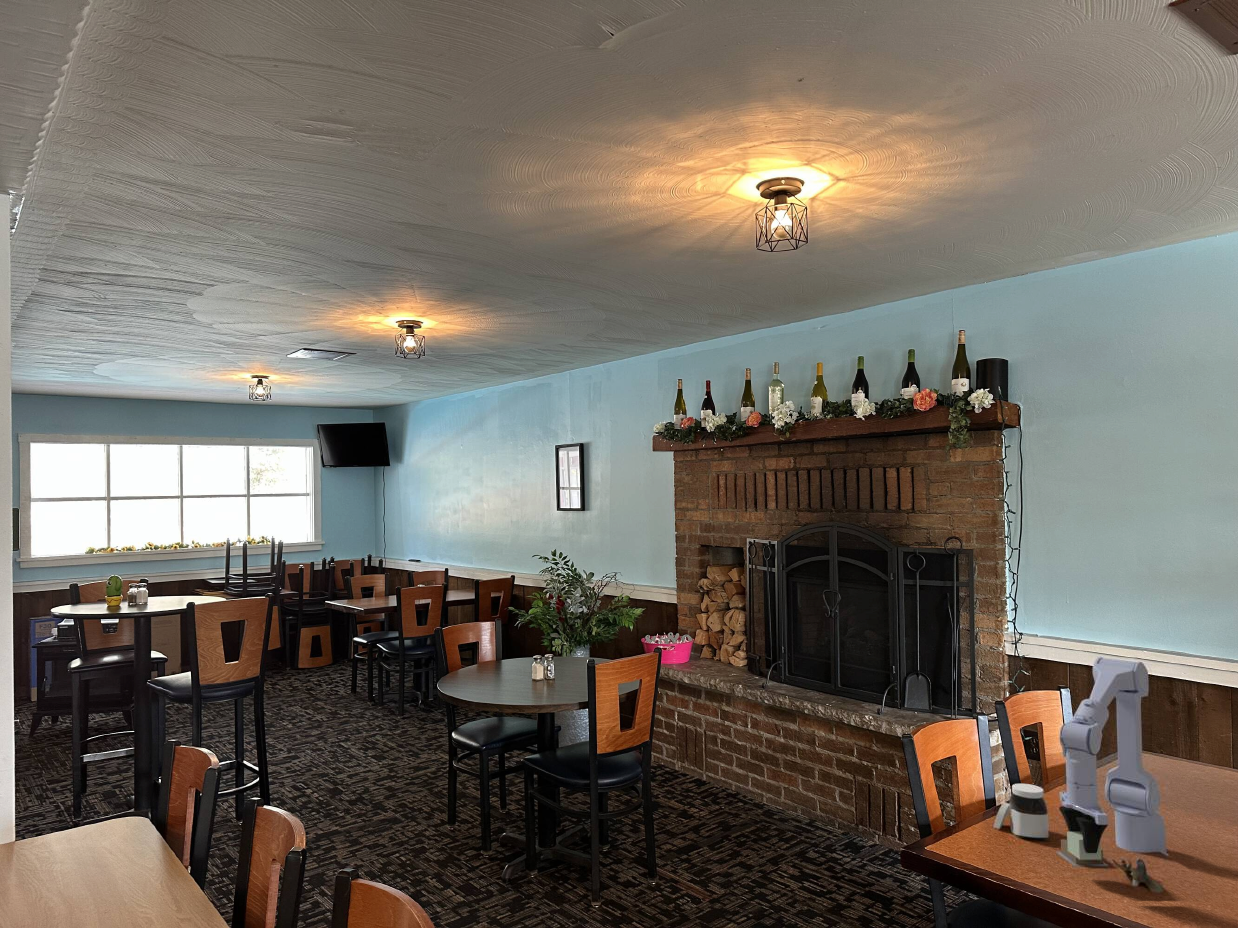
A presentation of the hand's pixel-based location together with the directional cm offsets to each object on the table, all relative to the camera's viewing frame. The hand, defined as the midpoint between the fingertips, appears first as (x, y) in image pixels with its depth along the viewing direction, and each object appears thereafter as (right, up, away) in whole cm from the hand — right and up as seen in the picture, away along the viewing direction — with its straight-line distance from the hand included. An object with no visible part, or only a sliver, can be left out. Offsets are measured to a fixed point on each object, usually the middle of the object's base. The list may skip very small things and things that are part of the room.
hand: (1084, 847), depth 173 cm
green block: (0, -2, 0) cm, 2 cm away
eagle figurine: (+10, -7, -4) cm, 13 cm away
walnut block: (+5, -7, +10) cm, 13 cm away
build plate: (+5, -8, +11) cm, 15 cm away
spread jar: (-1, -9, +25) cm, 27 cm away
